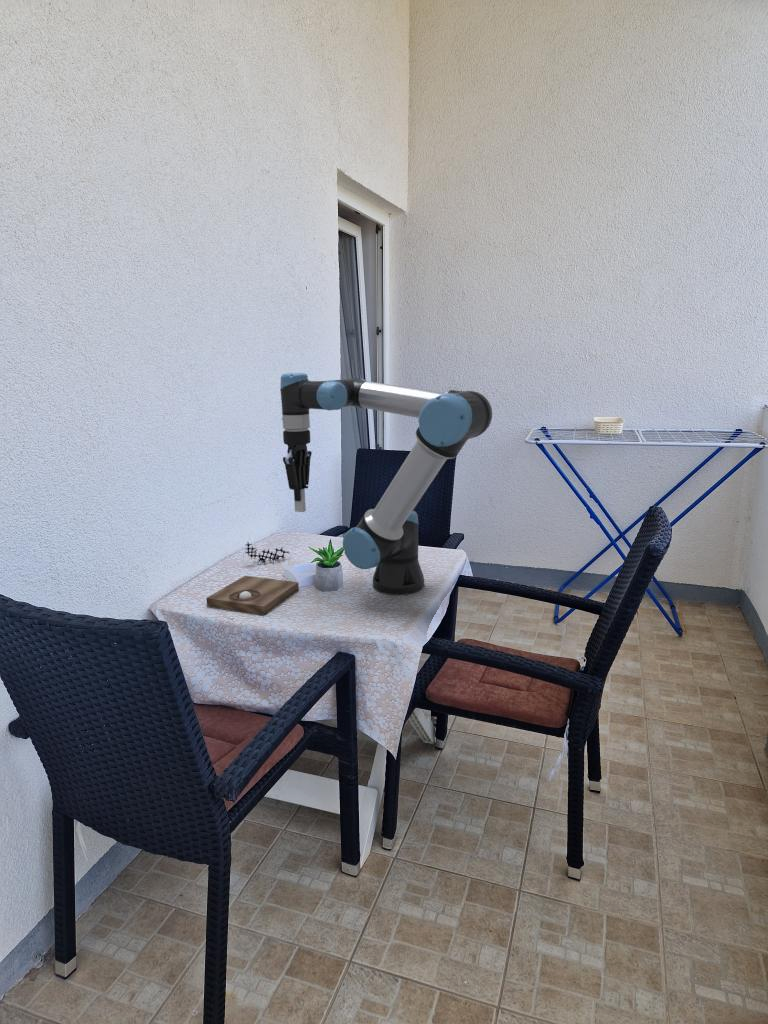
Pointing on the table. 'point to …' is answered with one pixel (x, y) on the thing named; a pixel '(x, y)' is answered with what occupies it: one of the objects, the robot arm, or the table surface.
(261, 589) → the wooden board
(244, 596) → the ball
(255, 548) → the molecular model
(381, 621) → the table surface
